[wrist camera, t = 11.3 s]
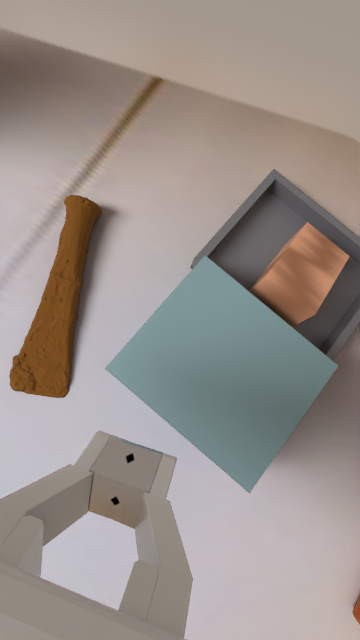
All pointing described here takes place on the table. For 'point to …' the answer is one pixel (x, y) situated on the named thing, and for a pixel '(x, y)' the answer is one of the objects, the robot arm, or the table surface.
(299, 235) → the terracotta block
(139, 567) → the robot arm
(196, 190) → the table surface
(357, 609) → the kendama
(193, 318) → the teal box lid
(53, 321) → the primitive tool
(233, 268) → the box
